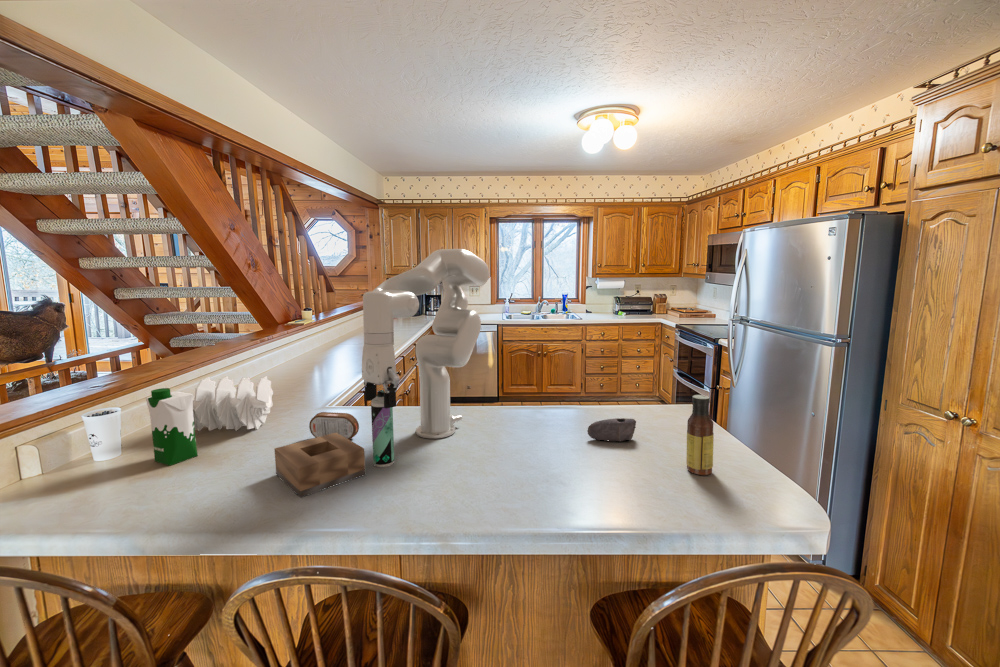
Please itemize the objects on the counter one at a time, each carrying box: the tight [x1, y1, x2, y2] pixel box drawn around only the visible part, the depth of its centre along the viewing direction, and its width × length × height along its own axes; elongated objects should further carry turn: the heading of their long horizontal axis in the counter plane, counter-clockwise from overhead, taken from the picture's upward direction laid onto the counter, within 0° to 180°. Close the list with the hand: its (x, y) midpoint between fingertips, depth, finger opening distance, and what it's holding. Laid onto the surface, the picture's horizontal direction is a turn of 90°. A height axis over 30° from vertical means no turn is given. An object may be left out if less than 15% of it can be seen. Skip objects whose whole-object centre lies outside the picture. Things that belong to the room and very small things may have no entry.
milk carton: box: [145, 387, 198, 467], centre depth 118 cm, size 9×9×20 cm
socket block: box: [273, 433, 366, 498], centre depth 109 cm, size 16×16×7 cm
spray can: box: [370, 389, 395, 468], centre depth 116 cm, size 6×6×20 cm
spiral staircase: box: [193, 375, 274, 432], centre depth 142 cm, size 18×18×25 cm
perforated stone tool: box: [587, 417, 637, 442], centre depth 133 cm, size 15×5×7 cm, turn 86°
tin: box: [308, 411, 360, 441], centre depth 133 cm, size 15×3×8 cm, turn 84°
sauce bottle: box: [686, 394, 715, 476], centre depth 111 cm, size 7×6×20 cm
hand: (380, 403), depth 114 cm, fingers open, 9 cm apart
